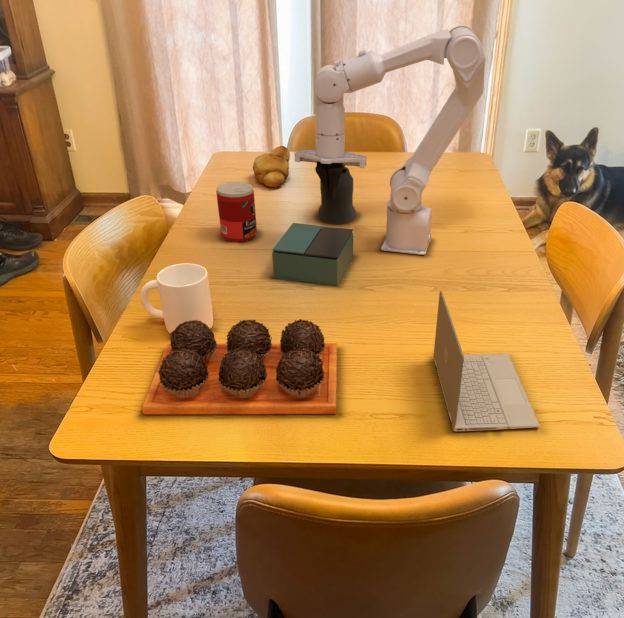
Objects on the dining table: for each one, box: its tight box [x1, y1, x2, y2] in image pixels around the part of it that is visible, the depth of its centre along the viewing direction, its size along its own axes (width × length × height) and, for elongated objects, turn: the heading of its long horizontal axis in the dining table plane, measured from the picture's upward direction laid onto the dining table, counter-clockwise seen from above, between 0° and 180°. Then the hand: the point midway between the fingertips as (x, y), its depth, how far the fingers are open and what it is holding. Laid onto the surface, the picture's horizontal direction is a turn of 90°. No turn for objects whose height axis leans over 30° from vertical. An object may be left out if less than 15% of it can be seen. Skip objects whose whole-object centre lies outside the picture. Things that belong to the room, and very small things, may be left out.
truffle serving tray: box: [141, 318, 338, 416], centre depth 102 cm, size 28×17×8 cm, turn 91°
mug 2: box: [317, 166, 357, 225], centre depth 156 cm, size 12×9×11 cm
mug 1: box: [139, 262, 214, 334], centre depth 115 cm, size 12×8×10 cm
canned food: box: [215, 181, 258, 243], centre depth 146 cm, size 8×8×11 cm
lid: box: [305, 226, 354, 258], centre depth 132 cm, size 6×13×1 cm, turn 166°
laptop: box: [433, 290, 541, 432], centre depth 99 cm, size 18×12×13 cm
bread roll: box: [252, 145, 291, 188], centre depth 174 cm, size 13×10×8 cm
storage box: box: [271, 222, 354, 287], centre depth 135 cm, size 13×13×6 cm
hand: (330, 197), depth 140 cm, fingers closed
